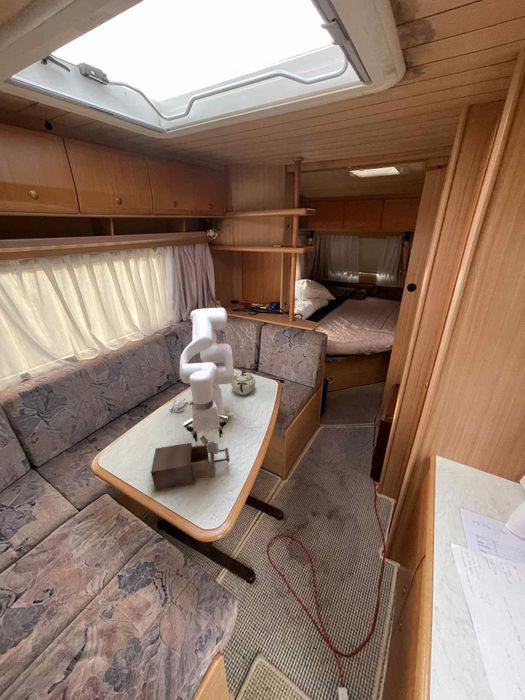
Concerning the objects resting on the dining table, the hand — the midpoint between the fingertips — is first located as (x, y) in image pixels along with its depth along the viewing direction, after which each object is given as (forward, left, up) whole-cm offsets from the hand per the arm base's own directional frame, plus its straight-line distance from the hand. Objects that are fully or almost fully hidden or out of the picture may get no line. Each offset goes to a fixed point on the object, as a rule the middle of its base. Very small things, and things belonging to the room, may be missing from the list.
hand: (208, 437), depth 111 cm
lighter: (0, +1, -7) cm, 7 cm away
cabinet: (+15, +1, -16) cm, 22 cm away
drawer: (+2, +1, -15) cm, 16 cm away
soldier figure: (+17, -47, -17) cm, 53 cm away
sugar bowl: (-22, -56, -17) cm, 63 cm away
